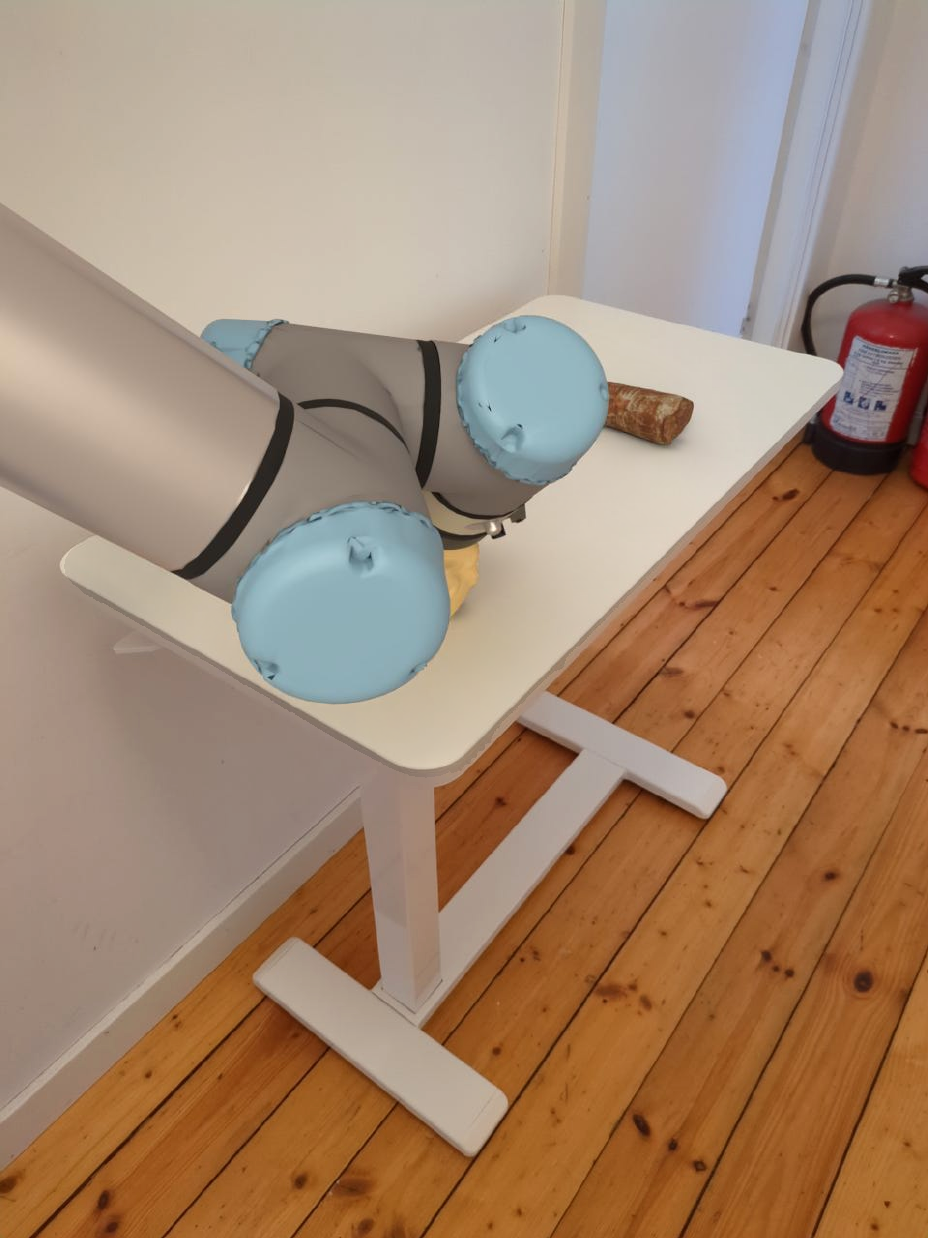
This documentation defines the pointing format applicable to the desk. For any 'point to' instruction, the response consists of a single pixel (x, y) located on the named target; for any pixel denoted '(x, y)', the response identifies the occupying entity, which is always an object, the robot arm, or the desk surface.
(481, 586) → the desk surface
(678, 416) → the bread
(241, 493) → the robot arm
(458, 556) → the sculpture
